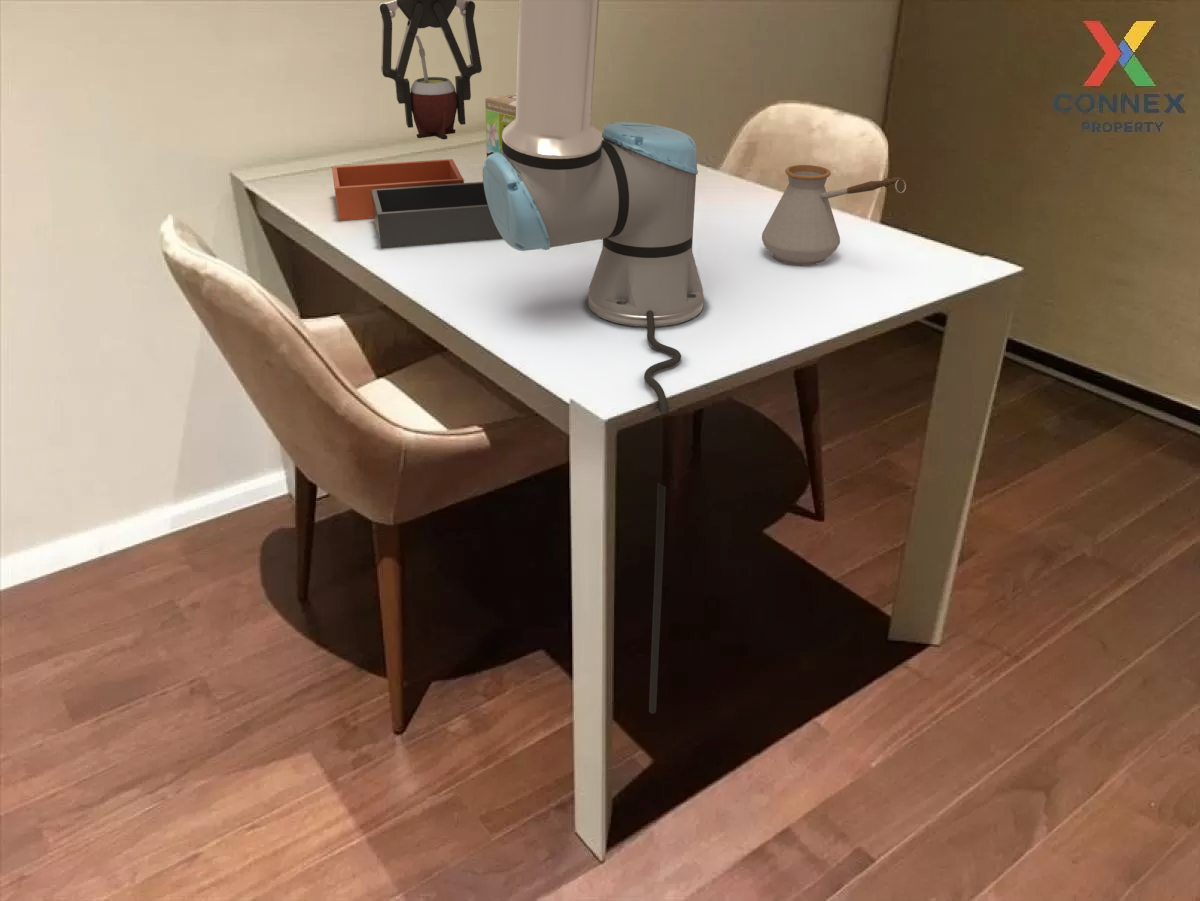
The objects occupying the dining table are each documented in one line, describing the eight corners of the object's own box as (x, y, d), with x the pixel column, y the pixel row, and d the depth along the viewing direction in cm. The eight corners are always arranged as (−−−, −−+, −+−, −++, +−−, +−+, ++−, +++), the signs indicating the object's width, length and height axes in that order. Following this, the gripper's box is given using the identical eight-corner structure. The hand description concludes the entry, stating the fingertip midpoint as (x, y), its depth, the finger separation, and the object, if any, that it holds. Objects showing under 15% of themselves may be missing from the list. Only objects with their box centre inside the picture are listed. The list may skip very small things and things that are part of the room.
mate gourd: (447, 127, 162) (439, 24, 155) (470, 137, 156) (463, 31, 149) (402, 134, 159) (393, 28, 151) (424, 144, 153) (415, 35, 145)
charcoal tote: (515, 237, 162) (514, 204, 159) (381, 248, 157) (377, 214, 155) (500, 212, 173) (499, 180, 170) (374, 221, 168) (371, 189, 165)
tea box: (524, 193, 182) (522, 106, 175) (486, 181, 188) (482, 97, 180) (583, 175, 192) (583, 92, 184) (545, 165, 198) (543, 84, 190)
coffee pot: (744, 255, 155) (752, 154, 148) (792, 238, 162) (802, 141, 155) (864, 295, 142) (879, 187, 134) (910, 275, 149) (928, 170, 141)
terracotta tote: (465, 211, 173) (463, 179, 170) (339, 220, 169) (335, 188, 166) (454, 189, 184) (452, 158, 181) (335, 197, 179) (331, 166, 177)
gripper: (489, -48, 151) (497, 115, 162) (348, -45, 146) (366, 122, 158) (498, -44, 144) (506, 125, 156) (351, -41, 140) (370, 133, 151)
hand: (435, 123), depth 157 cm, fingers closed on mate gourd, 7 cm apart
